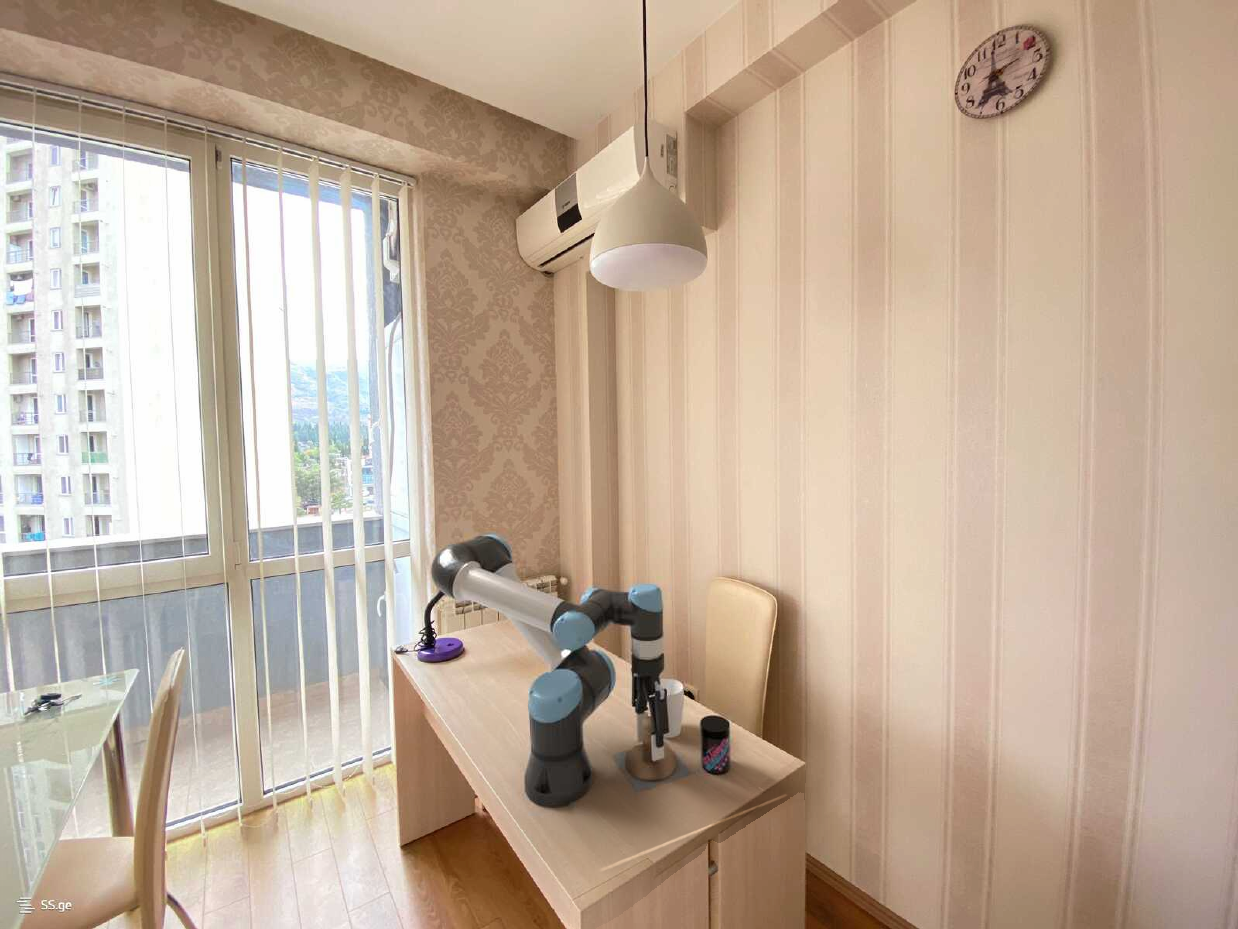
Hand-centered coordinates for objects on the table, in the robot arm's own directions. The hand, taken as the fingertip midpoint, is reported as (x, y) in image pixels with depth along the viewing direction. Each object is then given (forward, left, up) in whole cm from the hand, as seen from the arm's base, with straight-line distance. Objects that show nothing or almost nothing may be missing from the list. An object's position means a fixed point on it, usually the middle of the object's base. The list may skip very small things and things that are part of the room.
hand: (650, 749), depth 118 cm
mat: (0, 0, -4) cm, 4 cm away
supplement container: (+13, -7, -4) cm, 15 cm away
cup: (+10, +10, -4) cm, 15 cm away
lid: (0, 0, -4) cm, 4 cm away
